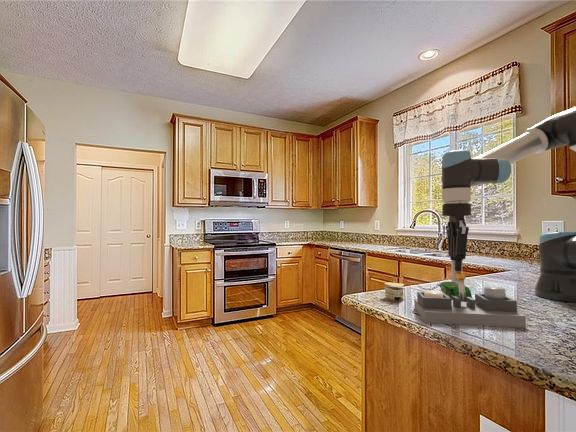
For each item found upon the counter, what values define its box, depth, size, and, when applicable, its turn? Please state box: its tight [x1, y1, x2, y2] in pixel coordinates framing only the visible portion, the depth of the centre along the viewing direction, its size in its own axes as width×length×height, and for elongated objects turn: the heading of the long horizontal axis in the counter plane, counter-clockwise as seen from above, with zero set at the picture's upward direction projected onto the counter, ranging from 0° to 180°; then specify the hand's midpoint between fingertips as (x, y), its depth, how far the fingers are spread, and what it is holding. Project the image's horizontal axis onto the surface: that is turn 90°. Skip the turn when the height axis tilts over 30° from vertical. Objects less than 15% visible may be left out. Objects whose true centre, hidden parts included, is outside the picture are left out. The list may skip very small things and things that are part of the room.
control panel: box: [413, 291, 527, 329], centre depth 86 cm, size 24×14×6 cm, turn 78°
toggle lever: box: [455, 272, 466, 302], centre depth 87 cm, size 3×3×8 cm
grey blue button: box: [483, 285, 507, 300], centre depth 84 cm, size 5×5×3 cm
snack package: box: [438, 281, 473, 300], centre depth 108 cm, size 7×16×5 cm, turn 169°
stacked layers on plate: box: [383, 281, 405, 301], centre depth 107 cm, size 10×9×6 cm
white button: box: [423, 290, 443, 298], centre depth 87 cm, size 5×5×3 cm
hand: (456, 281), depth 90 cm, fingers closed
